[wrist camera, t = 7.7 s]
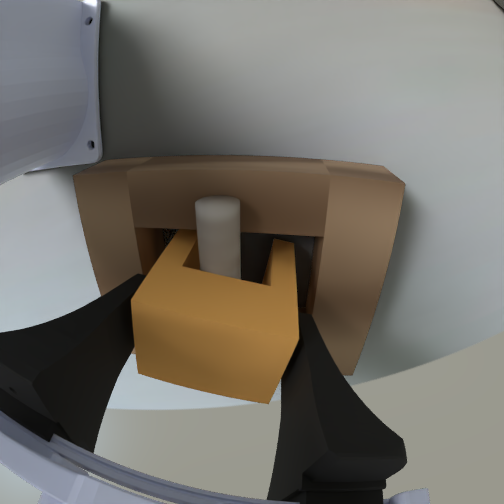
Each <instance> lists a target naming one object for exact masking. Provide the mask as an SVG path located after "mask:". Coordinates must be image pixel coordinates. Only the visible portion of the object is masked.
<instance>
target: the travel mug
mask: <svg viewBox="0 0 504 504" xmlns="http://www.w3.org/2000/svg"><path fill="white" fill-rule="evenodd" d="M495 2H497V3H498V4H499V5H500V6H501V7H502V8H503V9H504V0H495Z"/></svg>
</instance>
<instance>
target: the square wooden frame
mask: <svg viewBox="0 0 504 504" xmlns="http://www.w3.org/2000/svg"><path fill="white" fill-rule="evenodd" d="M73 180H74V186H75V192H76V197H77V203H78V208H79V213H80V218H81V222H82V227H83V231H84V236H85V240H86V244H87V248H88V252H89V256H90V259H91V263H92V267H93V270H94V274H95V277H96V281H97V284H98V287H99V291H100V294H101V296H103V295H104V294H106V293H108V292H109V291H111V290H112V289H114V288H116V287H117V286H119V285H120V284H122V283H123V282H125V281H126V280H128V279H130V278H131V277H133V276H134V275H136V274H138V273H139V274H142V275H146V276H147V275H148V273H149V272H150V270H151V269H152V267H153V266H154V264H155V263H156V261H157V260H158V258H159V257H160V256H161V254H162V253H163V251H164V250H165V244H164V237H163V229H162V228H169V229H192V230H197V237H198V249H199V261H200V271H205V272H209V273H213V274H218V275H222V276H227V277H231V278H236V279H240V280H241V255H240V232H251V233H269V234H286V235H302V236H315V239H314V247H313V256H312V264H311V272H310V279H309V287H308V294H307V301H306V308H301V307H298V312H301V313H306V314H311V315H312V316H313V318H314V321H315V323H316V325H317V328H318V330H319V332H320V334H321V336H322V338H323V341H324V343H325V345H326V347H327V348H328V350H329V352H330V354H331V356H332V358H333V360H334V362H335V363H336V365H337V367H338V368H339V370H340V372H341V373H342V375H353V373H354V370H355V367H356V365H357V362H358V360H359V357H360V354H361V351H362V349H363V346H364V343H365V340H366V337H367V334H368V331H369V329H370V326H371V322H372V319H373V316H374V313H375V310H376V307H377V303H378V300H379V297H380V293H381V290H382V286H383V283H384V279H385V275H386V272H387V268H388V264H389V260H390V256H391V252H392V248H393V244H394V239H395V235H396V230H397V226H398V221H399V216H400V211H401V205H402V200H403V194H404V189H405V183H404V182H403V181H401V180H400V179H399V178H398V177H396V176H395V175H394V174H393V173H391V172H390V171H389V170H387V169H386V168H385V167H384V166H378V165H370V164H362V163H353V162H343V161H333V160H321V159H308V158H293V157H275V156H246V155H186V156H158V157H139V158H125V159H112V160H105V161H103V162H101V163H98V164H96V165H94V166H92V167H90V168H87V169H85V170H83V171H81V172H79V173H77V174H75V175H73ZM132 354H136V352H135V347H134V349H133V351H132Z"/></svg>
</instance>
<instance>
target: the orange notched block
mask: <svg viewBox="0 0 504 504" xmlns="http://www.w3.org/2000/svg"><path fill="white" fill-rule="evenodd" d="M131 309H132V322H133V333H134V343H135V352H136V361H137V369H138V373H139V374H142V375H145V376H148V377H152V378H155V379H158V380H162V381H165V382H169V383H172V384H176V385H180V386H184V387H187V388H191V389H195V390H200V391H204V392H208V393H212V394H217V395H222V396H226V397H231V398H236V399H242V400H247V401H253V402H258V403H265V404H269V402H270V400H271V398H272V396H273V394H274V392H275V390H276V388H277V386H278V384H279V382H280V379H281V377H282V375H283V373H284V371H285V369H286V367H287V365H288V362H289V360H290V358H291V356H292V354H293V351H294V349H295V347H296V345H297V342H298V340H299V325H298V303H297V284H296V267H295V251H294V243H291V242H287V241H283V240H278V239H274V241H273V244H272V248H271V252H270V256H269V259H268V263H267V267H266V271H265V274H264V278H263V282H262V284H258V283H254V282H249V281H245V280H240V279H236V278H231V277H227V276H222V275H218V274H213V273H209V272H205V271H200V261H199V249H198V237H197V230H192V229H179V230H178V231H177V233H176V234H175V236H174V237H173V238H172V240H171V241H170V243H169V244H168V246H167V247H166V248H165V250H164V251H163V253H162V254H161V256H160V257H159V258H158V260H157V261H156V263H155V264H154V266H153V267H152V269H151V270H150V272H149V273H148V275H147V276H146V278H145V279H144V281H143V282H142V284H141V285H140V287H139V288H138V290H137V291H136V293H135V294H134V296H133V297H132V299H131Z"/></svg>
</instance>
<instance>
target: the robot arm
mask: <svg viewBox="0 0 504 504" xmlns="http://www.w3.org/2000/svg"><path fill="white" fill-rule="evenodd" d="M100 10H101V1H100V0H85V1H83V2H81V1H78V0H0V185H1V184H3V183H5V182H7V181H9V180H11V179H14V178H16V177H18V176H20V175H22V174H24V173H26V172H29V171H35V170H42V169H49V168H56V167H63V166H72V165H80V164H90V163H95V162H98V161H99V160H100V159H101V158H102V155H103V150H102V140H101V128H100V113H99V90H98V46H99V24H100ZM91 19H93V20H92V23H91V24H90V25H89V21H90V20H91ZM91 141H93V142H94V144H95V147H94V148H93V147H92V145H91ZM145 278H146V275H142V274H139V273H138V274H136V275H134V276H133V277H131V278H130V279H128V280H126V281H125V282H123V283H122V284H120V285H119V286H117V287H116V288H114V289H112V290H111V291H109V292H108V293H106V294H104V295H103V296H101V297H99V298H98V299H96V300H94V301H92V302H91V303H89V304H87V305H85V306H83V307H81V308H79V309H77V310H75V311H73V312H71V313H69V314H67V315H64V316H62V317H59V318H56V319H54V320H51V321H48V322H45V323H43V324H39V325H36V326H32V327H28V328H24V329H20V330H14V331H8V332H2V333H0V463H1V464H3V465H4V466H5V467H7V468H8V469H9V470H11V471H12V472H13V473H15V474H16V475H18V476H19V477H20V478H22V479H23V480H25V481H26V482H28V483H29V484H31V485H32V486H34V487H36V488H37V489H39V490H40V491H42V494H41V496H40V499H39V501H38V504H166V503H163V502H159V501H156V500H152V499H149V498H147V497H144V496H141V495H137V494H135V493H132V492H129V491H126V490H124V489H121V488H119V487H116V486H114V485H111V484H109V483H106V482H104V481H102V480H99V479H97V478H94V477H92V476H89V474H88V473H87V472H86V471H85V470H87V471H89V472H91V473H93V474H95V475H98V476H100V477H102V478H104V479H107V480H109V481H112V482H114V483H117V484H119V485H122V486H124V487H127V488H130V489H132V490H135V491H138V492H141V493H144V494H147V495H150V496H153V497H156V498H160V499H163V500H166V501H170V502H174V503H178V504H430V499H429V492H428V488H422V489H417V490H411V491H406V492H402V493H399V494H396V495H394V496H392V497H391V498H390V499H383V491H382V489H385V488H386V479H387V478H389V477H390V476H392V475H393V474H395V473H397V472H398V471H400V470H401V469H402V468H403V467H404V466H405V465H406V463H407V457H406V450H405V446H404V441H403V439H402V438H401V437H400V436H398V435H397V434H396V433H395V432H393V431H392V430H391V429H390V428H389V427H387V426H386V425H385V424H384V423H383V422H382V421H381V420H380V419H378V418H377V417H376V415H374V414H373V413H372V411H371V410H370V409H369V408H368V407H367V406H366V405H365V404H364V403H363V401H362V400H361V399H360V398H359V397H358V396H357V394H356V393H355V392H354V391H353V389H352V388H351V386H350V385H349V384H348V382H347V381H346V380H345V378H344V376H343V375H342V373H341V372H340V370H339V368H338V367H337V365H336V363H335V362H334V360H333V358H332V356H331V354H330V352H329V350H328V348H327V347H326V345H325V343H324V341H323V338H322V336H321V334H320V332H319V330H318V328H317V325H316V323H315V321H314V318H313V316H312V315H311V314H306V313H301V312H298V325H299V340H298V342H297V345H296V347H295V349H294V351H293V354H292V356H291V358H290V360H289V362H288V365H287V367H286V369H285V371H284V373H283V375H282V377H281V422H280V429H279V437H278V443H277V451H276V456H275V462H274V468H273V473H272V478H271V483H270V487H269V492H268V497H267V500H262V499H253V498H246V497H239V496H232V495H227V494H222V493H216V492H211V491H206V490H202V489H197V488H193V487H189V486H185V485H181V484H177V483H174V482H170V481H166V480H163V479H160V478H156V477H154V476H150V475H147V474H144V473H141V472H139V471H136V470H133V469H130V468H127V467H125V466H122V465H120V464H117V463H115V462H112V461H110V460H107V459H105V458H102V457H100V456H98V455H96V454H94V448H95V444H96V441H97V437H98V433H99V429H100V426H101V423H102V419H103V416H104V413H105V410H106V407H107V404H108V402H109V399H110V396H111V393H112V391H113V388H114V386H115V383H116V381H117V378H118V376H119V374H120V372H121V370H122V368H123V367H124V365H125V363H126V361H127V360H128V358H129V356H130V354H131V353H132V351H133V349H134V347H135V343H134V333H133V322H132V309H131V299H132V297H133V296H134V294H135V293H136V291H137V290H138V288H139V287H140V285H141V284H142V282H143V281H144V279H145ZM79 467H80V468H79ZM81 468H82V469H81ZM83 469H84V470H83Z"/></svg>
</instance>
